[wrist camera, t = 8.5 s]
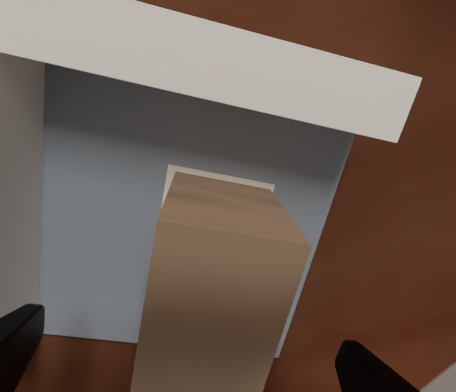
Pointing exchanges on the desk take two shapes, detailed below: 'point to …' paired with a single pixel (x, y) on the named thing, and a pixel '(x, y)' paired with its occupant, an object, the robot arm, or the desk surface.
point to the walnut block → (217, 288)
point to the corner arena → (157, 142)
